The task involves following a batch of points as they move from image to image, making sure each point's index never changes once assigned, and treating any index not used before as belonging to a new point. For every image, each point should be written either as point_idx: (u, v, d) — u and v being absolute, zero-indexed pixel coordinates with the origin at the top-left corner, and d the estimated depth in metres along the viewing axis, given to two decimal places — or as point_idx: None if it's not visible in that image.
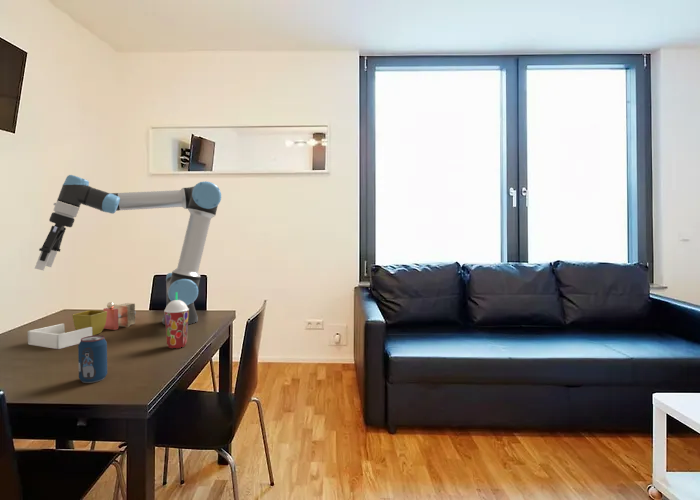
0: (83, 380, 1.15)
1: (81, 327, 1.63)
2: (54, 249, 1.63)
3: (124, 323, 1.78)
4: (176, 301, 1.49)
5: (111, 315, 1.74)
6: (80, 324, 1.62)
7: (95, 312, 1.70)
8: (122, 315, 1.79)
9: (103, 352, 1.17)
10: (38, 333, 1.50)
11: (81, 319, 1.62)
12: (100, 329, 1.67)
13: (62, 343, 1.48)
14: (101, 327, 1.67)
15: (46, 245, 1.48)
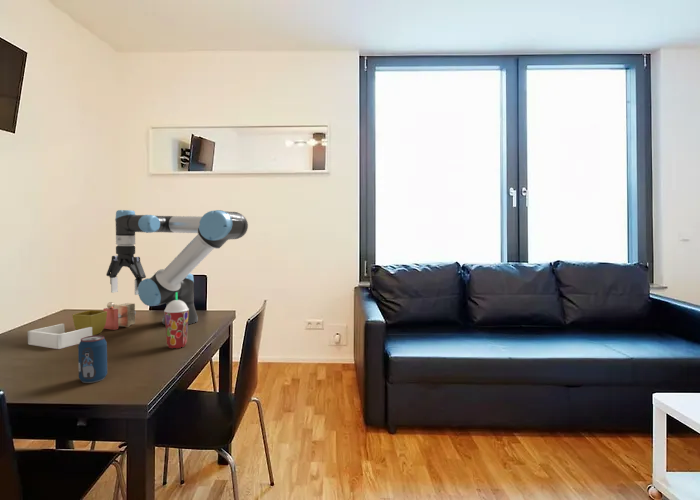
0: (83, 380, 1.15)
1: (81, 327, 1.63)
2: (114, 276, 1.84)
3: (124, 323, 1.78)
4: (176, 301, 1.49)
5: (111, 315, 1.74)
6: (80, 324, 1.62)
7: (95, 312, 1.70)
8: (122, 315, 1.79)
9: (103, 352, 1.17)
10: (38, 333, 1.50)
11: (81, 319, 1.62)
12: (100, 329, 1.67)
13: (62, 343, 1.48)
14: (101, 327, 1.67)
15: (142, 274, 1.78)
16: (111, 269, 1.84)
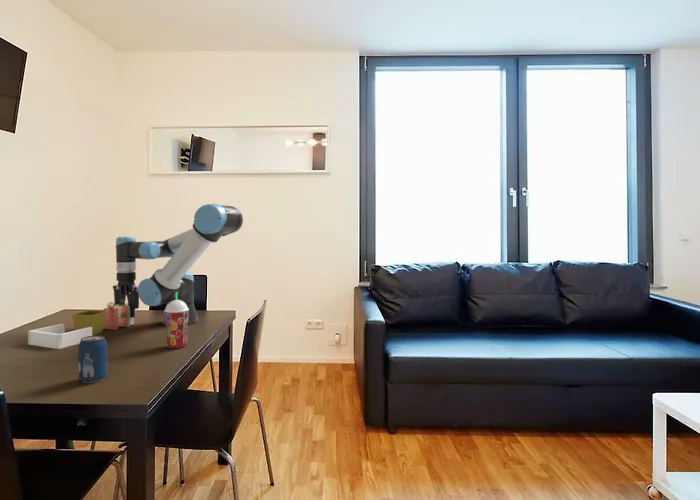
0: (83, 380, 1.15)
1: (81, 327, 1.63)
2: None
3: (124, 323, 1.78)
4: (176, 301, 1.49)
5: (111, 315, 1.74)
6: (80, 324, 1.62)
7: (95, 312, 1.70)
8: (122, 315, 1.79)
9: (103, 351, 1.17)
10: (38, 333, 1.50)
11: (81, 319, 1.62)
12: (100, 329, 1.67)
13: (62, 343, 1.48)
14: (101, 327, 1.67)
15: (136, 305, 1.80)
16: (117, 299, 1.83)
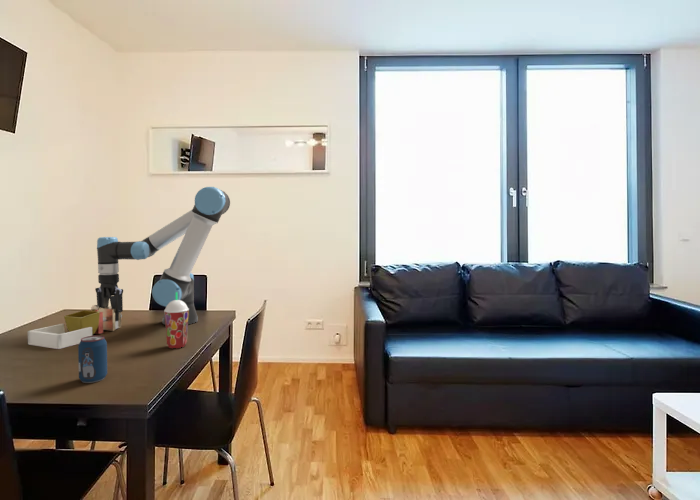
0: (83, 380, 1.15)
1: (73, 329, 1.60)
2: None
3: (109, 327, 1.72)
4: (176, 301, 1.49)
5: None
6: (72, 326, 1.60)
7: (89, 312, 1.67)
8: (107, 318, 1.72)
9: (103, 351, 1.17)
10: (38, 333, 1.50)
11: (72, 321, 1.59)
12: (93, 330, 1.64)
13: (62, 343, 1.48)
14: (94, 328, 1.64)
15: (119, 308, 1.72)
16: (100, 302, 1.76)
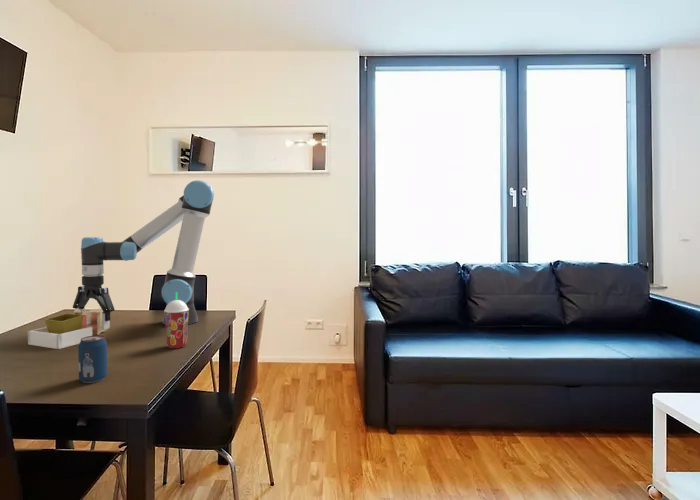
0: (83, 380, 1.15)
1: (54, 333, 1.53)
2: (81, 308, 1.70)
3: (94, 331, 1.65)
4: (176, 301, 1.49)
5: None
6: (53, 330, 1.53)
7: (72, 315, 1.60)
8: (91, 322, 1.65)
9: (103, 352, 1.17)
10: (38, 333, 1.50)
11: (54, 325, 1.53)
12: None
13: (62, 343, 1.48)
14: None
15: (110, 306, 1.64)
16: (78, 301, 1.69)
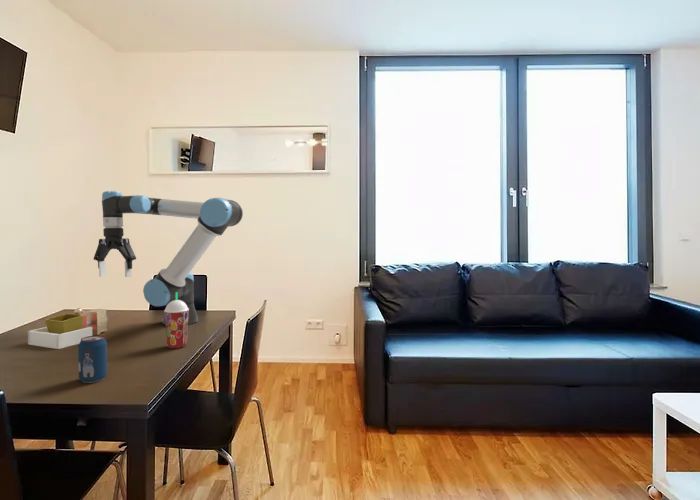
0: (83, 380, 1.15)
1: (54, 333, 1.53)
2: (101, 260, 1.81)
3: (94, 331, 1.65)
4: (176, 301, 1.49)
5: None
6: (53, 330, 1.53)
7: (72, 315, 1.60)
8: (91, 322, 1.65)
9: (103, 352, 1.17)
10: (38, 333, 1.50)
11: (54, 325, 1.53)
12: None
13: (62, 343, 1.48)
14: None
15: (132, 255, 1.76)
16: (98, 253, 1.80)
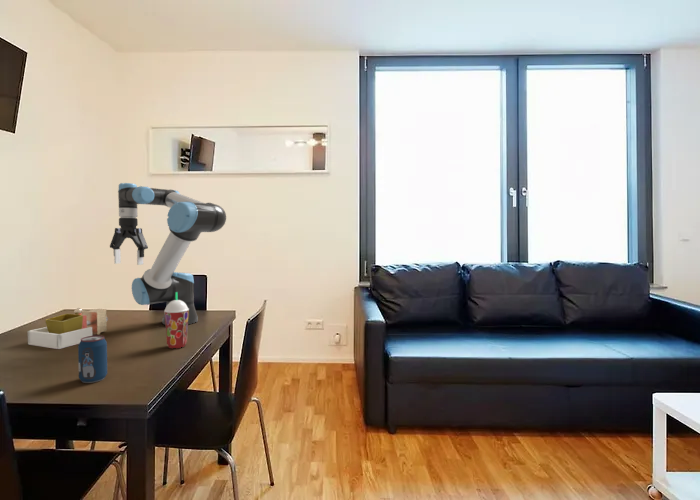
0: (83, 380, 1.15)
1: (54, 333, 1.53)
2: (117, 248, 1.91)
3: (94, 331, 1.65)
4: (176, 301, 1.49)
5: None
6: (53, 330, 1.53)
7: (72, 315, 1.60)
8: (91, 322, 1.65)
9: (103, 352, 1.17)
10: (38, 333, 1.50)
11: (54, 325, 1.53)
12: None
13: (62, 343, 1.48)
14: None
15: (144, 244, 1.85)
16: (114, 241, 1.90)
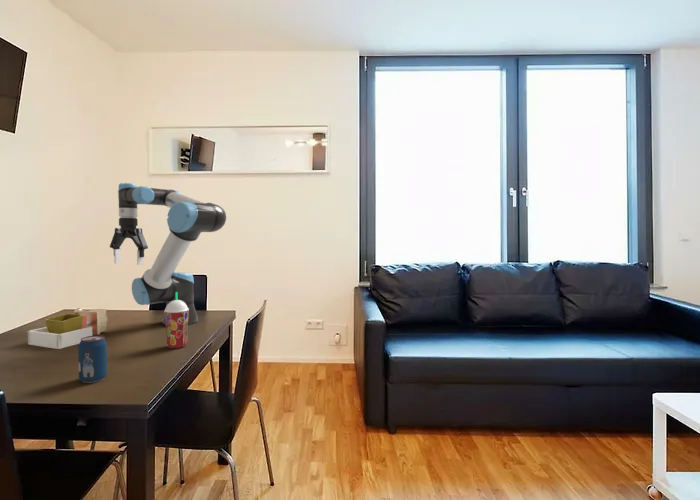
0: (83, 380, 1.15)
1: (54, 333, 1.53)
2: (117, 248, 1.91)
3: (94, 331, 1.65)
4: (176, 301, 1.49)
5: None
6: (53, 330, 1.53)
7: (72, 315, 1.60)
8: (91, 322, 1.65)
9: (103, 352, 1.17)
10: (38, 333, 1.50)
11: (54, 325, 1.53)
12: None
13: (62, 343, 1.48)
14: None
15: (144, 244, 1.85)
16: (114, 241, 1.90)
